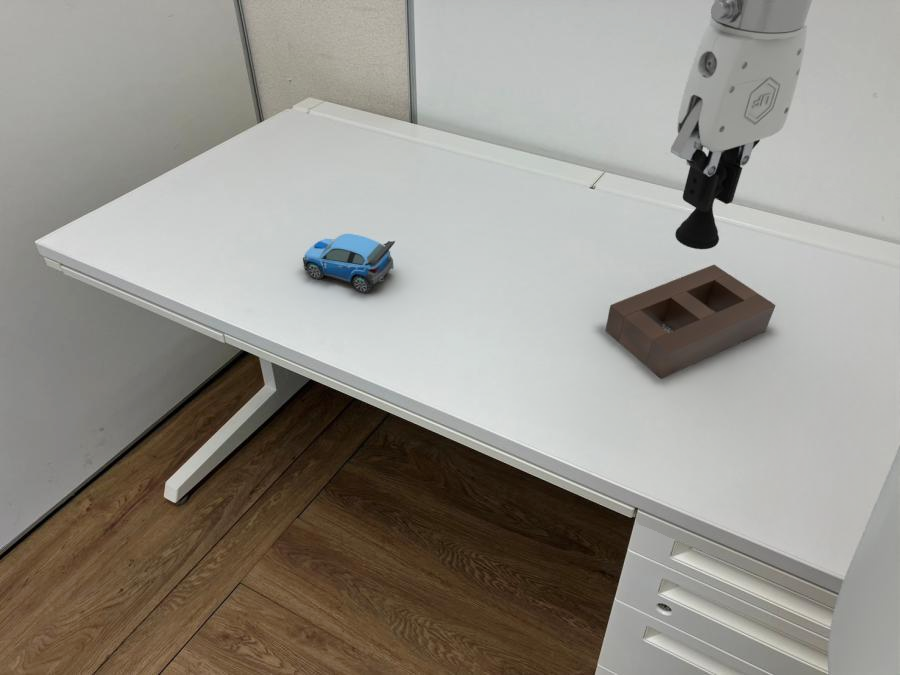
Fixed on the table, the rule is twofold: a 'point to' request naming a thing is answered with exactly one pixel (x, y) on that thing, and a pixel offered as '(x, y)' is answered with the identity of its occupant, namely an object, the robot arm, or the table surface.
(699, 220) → the chess piece
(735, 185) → the robot arm
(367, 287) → the toy car
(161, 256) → the table surface
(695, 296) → the socket base
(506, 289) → the table surface
